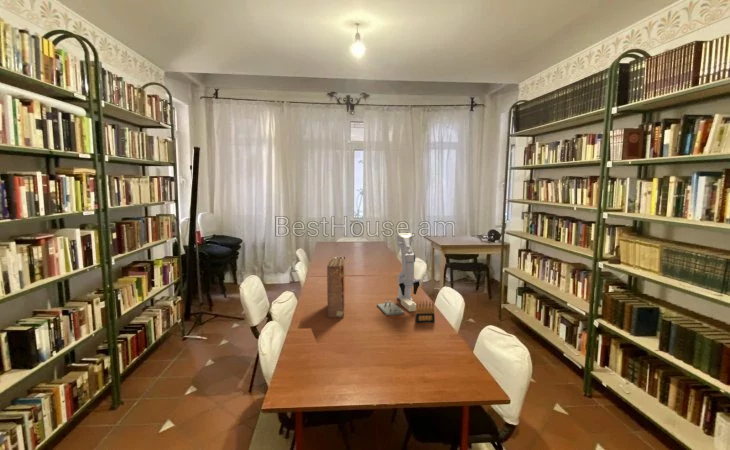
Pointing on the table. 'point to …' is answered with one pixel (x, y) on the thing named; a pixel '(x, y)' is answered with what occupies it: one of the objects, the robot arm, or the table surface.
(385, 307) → the flat gray board
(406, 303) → the cream rectangular block
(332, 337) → the table surface
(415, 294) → the robot arm
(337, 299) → the book
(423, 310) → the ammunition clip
